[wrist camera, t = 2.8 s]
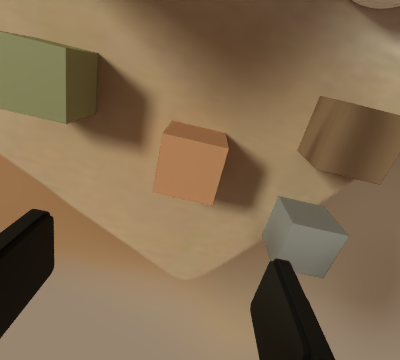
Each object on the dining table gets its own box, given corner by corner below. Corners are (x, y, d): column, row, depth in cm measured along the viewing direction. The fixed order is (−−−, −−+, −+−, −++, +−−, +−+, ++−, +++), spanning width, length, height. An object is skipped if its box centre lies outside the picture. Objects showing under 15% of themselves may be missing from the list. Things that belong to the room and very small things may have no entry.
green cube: (98, 53, 20) (65, 47, 15) (96, 113, 22) (65, 124, 18) (38, 38, 20) (-14, 28, 15) (41, 100, 22) (-4, 107, 17)
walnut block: (374, 109, 21) (419, 120, 16) (346, 162, 23) (380, 184, 18) (319, 96, 21) (350, 102, 16) (297, 150, 23) (318, 170, 18)
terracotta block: (225, 133, 22) (228, 148, 18) (212, 180, 24) (212, 205, 20) (172, 120, 22) (162, 133, 17) (163, 169, 24) (152, 192, 20)
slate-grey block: (324, 206, 25) (349, 236, 20) (304, 243, 27) (323, 278, 22) (278, 195, 25) (293, 223, 20) (262, 234, 27) (272, 267, 22)
